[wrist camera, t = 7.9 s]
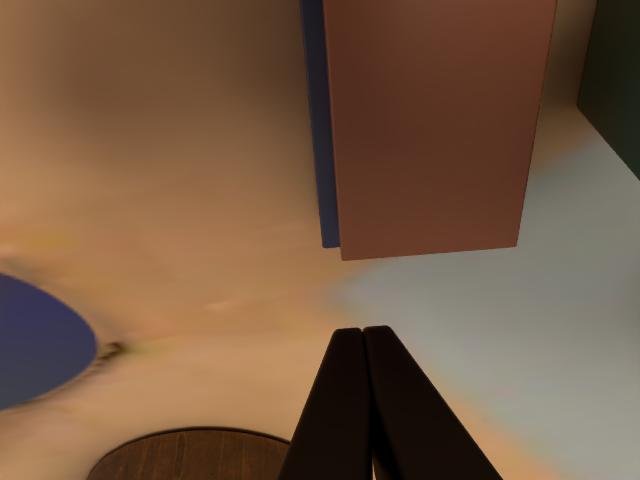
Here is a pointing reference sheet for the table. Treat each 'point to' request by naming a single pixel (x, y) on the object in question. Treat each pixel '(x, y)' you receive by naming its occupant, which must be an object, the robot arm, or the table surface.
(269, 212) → the table surface
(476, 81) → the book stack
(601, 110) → the tea box
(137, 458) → the wooden container
